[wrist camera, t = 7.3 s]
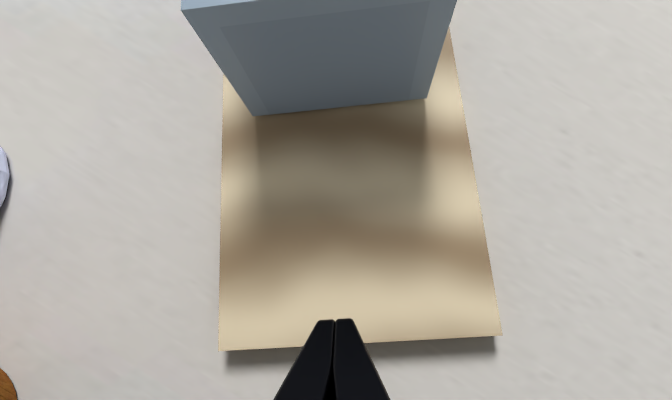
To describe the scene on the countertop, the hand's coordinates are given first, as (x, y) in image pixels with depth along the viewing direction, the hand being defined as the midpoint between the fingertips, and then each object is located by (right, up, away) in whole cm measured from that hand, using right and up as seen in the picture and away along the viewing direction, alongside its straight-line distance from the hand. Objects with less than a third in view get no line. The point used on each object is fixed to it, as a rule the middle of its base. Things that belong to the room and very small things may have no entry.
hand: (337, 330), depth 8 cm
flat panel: (0, +6, +13) cm, 14 cm away
